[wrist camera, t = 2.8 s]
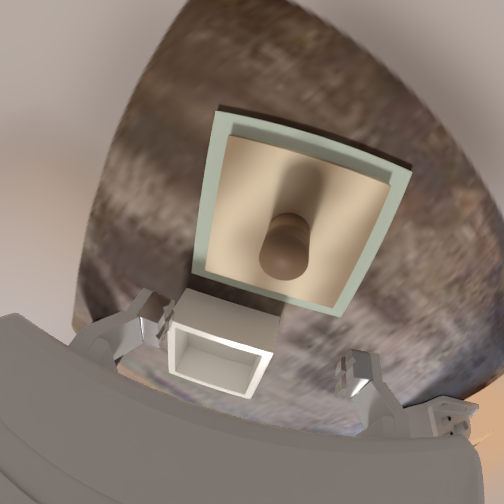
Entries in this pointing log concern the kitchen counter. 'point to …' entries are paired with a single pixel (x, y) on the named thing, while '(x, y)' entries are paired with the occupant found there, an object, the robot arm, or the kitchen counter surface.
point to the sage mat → (312, 146)
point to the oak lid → (291, 220)
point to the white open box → (220, 343)
